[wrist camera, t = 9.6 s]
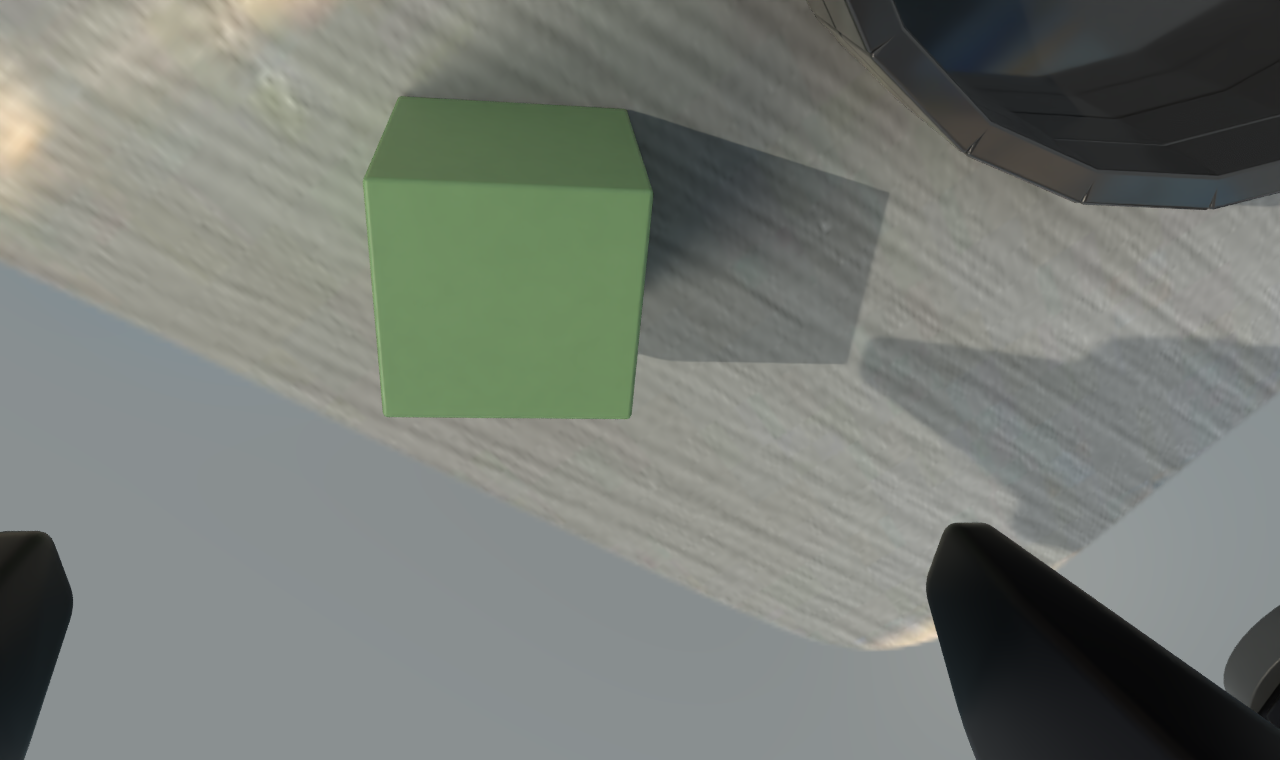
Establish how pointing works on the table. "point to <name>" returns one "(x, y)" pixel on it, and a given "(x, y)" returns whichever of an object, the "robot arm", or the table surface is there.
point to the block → (507, 259)
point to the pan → (1088, 90)
